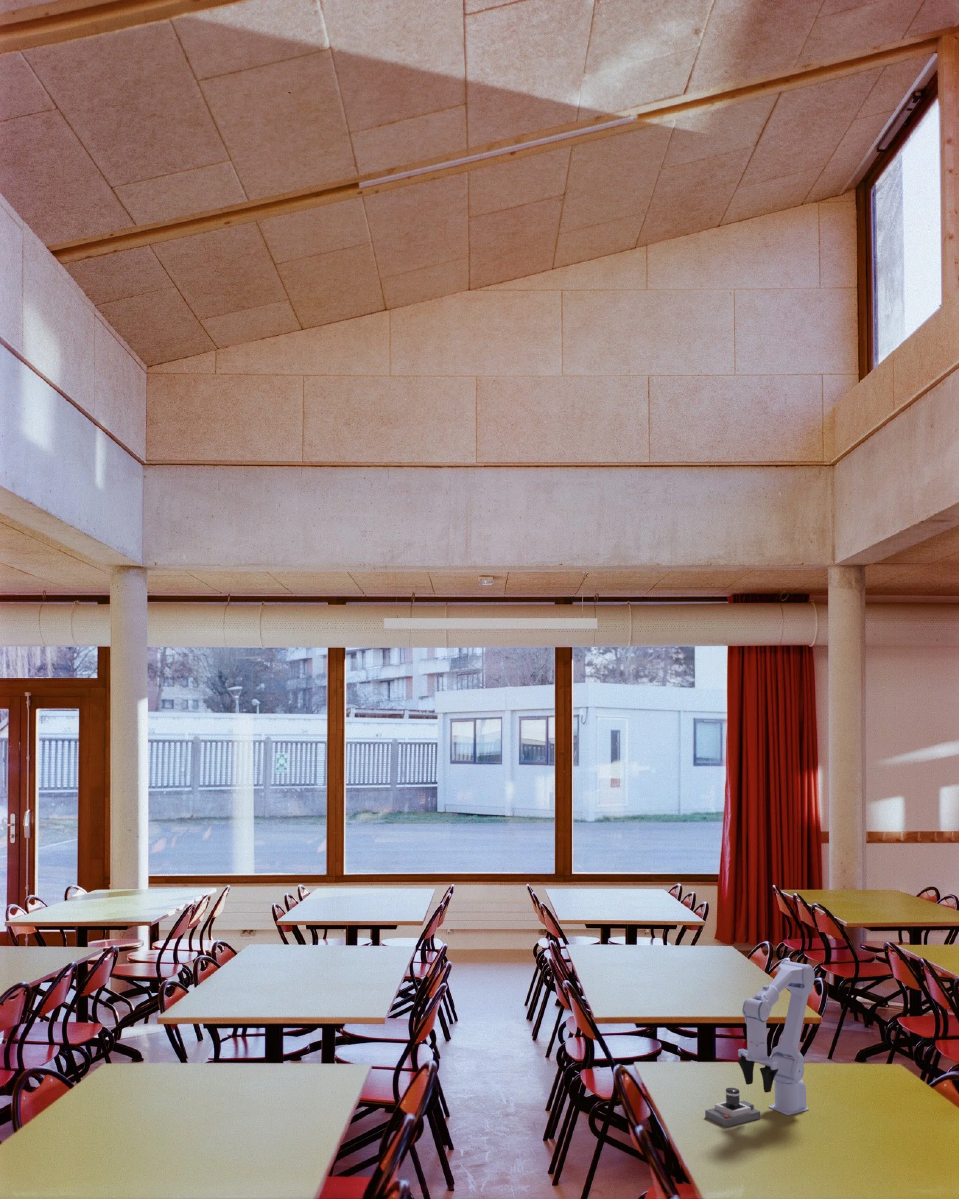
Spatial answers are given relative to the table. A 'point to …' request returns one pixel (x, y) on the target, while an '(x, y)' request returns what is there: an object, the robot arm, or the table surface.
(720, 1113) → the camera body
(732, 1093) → the lens
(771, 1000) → the robot arm
